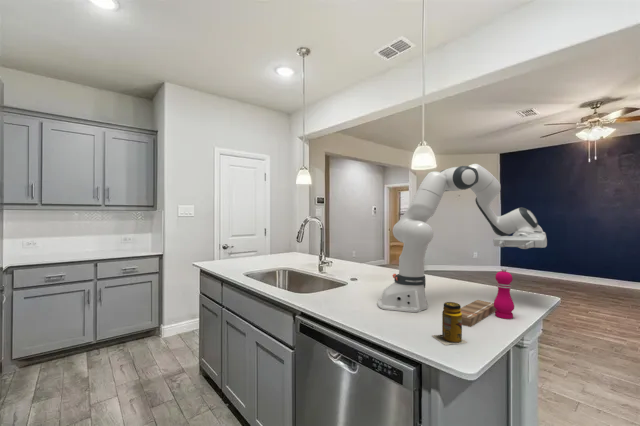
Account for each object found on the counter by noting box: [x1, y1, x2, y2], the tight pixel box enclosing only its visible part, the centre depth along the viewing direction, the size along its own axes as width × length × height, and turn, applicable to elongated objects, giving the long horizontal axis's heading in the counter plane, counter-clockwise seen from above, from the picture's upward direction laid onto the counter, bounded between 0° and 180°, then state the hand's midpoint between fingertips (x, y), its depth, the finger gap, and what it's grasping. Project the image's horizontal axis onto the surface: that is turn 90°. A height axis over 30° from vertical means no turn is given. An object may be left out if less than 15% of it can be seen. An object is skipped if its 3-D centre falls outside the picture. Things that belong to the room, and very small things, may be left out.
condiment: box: [431, 301, 468, 346], centre depth 102 cm, size 7×8×12 cm
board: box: [460, 299, 496, 328], centre depth 125 cm, size 28×8×3 cm, turn 132°
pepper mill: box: [493, 267, 515, 320], centre depth 124 cm, size 7×7×20 cm
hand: (513, 245), depth 131 cm, fingers open, 8 cm apart
